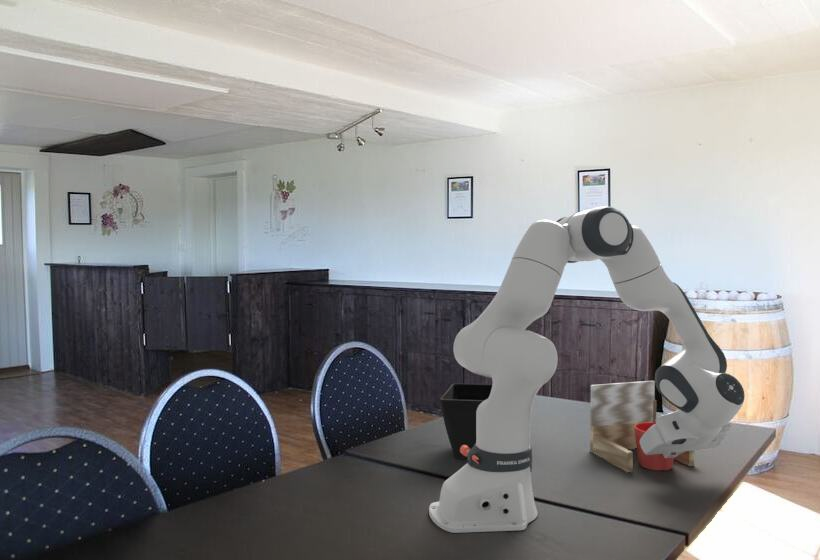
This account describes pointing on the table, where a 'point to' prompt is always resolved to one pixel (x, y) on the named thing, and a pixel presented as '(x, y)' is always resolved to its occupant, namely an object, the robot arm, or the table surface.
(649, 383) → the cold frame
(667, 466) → the flower pot
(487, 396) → the flower pot
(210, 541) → the table surface
